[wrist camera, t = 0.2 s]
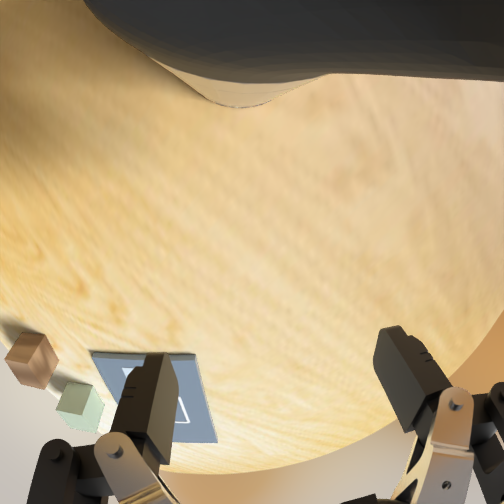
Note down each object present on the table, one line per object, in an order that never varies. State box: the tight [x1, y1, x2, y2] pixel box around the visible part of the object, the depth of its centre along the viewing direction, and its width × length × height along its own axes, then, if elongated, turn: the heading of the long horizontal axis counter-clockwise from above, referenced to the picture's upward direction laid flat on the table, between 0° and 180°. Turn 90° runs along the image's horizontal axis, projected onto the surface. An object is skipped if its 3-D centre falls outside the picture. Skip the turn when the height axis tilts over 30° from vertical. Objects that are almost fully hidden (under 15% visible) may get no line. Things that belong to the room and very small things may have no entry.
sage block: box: [56, 382, 105, 433], centre depth 35 cm, size 5×5×6 cm
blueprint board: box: [92, 352, 218, 443], centre depth 38 cm, size 22×14×1 cm, turn 2°
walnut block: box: [5, 332, 59, 390], centre depth 30 cm, size 5×5×6 cm
